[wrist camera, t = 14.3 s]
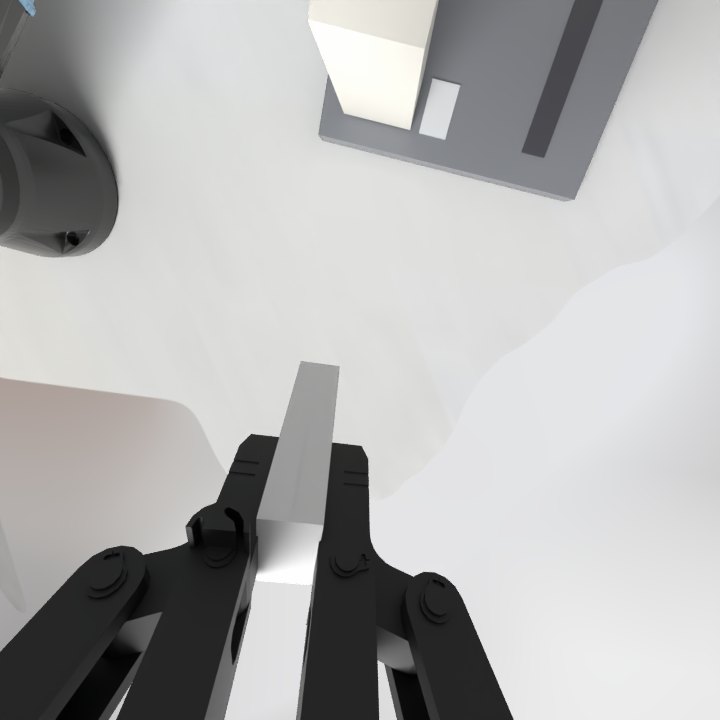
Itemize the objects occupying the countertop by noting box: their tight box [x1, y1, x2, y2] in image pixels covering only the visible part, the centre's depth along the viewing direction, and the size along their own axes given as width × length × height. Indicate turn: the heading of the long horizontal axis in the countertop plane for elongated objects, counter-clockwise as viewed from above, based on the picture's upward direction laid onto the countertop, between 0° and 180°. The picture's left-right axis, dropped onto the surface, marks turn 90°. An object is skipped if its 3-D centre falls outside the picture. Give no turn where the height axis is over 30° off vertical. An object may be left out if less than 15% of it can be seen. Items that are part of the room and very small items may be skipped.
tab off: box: [307, 0, 439, 130], centre depth 23 cm, size 4×6×14 cm, turn 77°
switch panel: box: [318, 0, 658, 201], centre depth 28 cm, size 24×24×2 cm
